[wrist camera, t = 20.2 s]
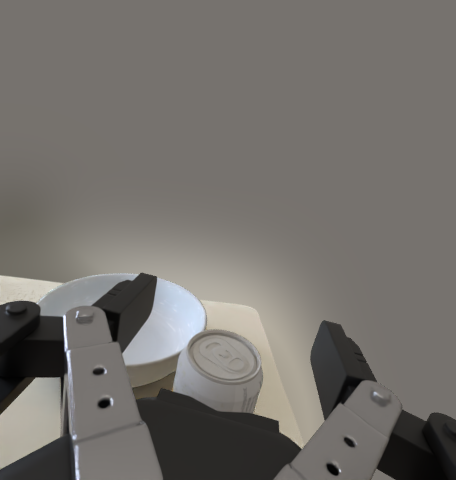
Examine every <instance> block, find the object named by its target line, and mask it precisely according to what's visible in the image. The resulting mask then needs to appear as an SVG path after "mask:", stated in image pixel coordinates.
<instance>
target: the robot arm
mask: <svg viewBox="0 0 456 480" xmlns="http://www.w3.org/2000/svg"><path fill="white" fill-rule="evenodd" d="M156 285H157V277H156V276H153V275H149V274H144V273H140V274H139V275H138V276H137V277H136V278H135V279H134V280H133V281H131V280H125V281H122V282H119V283H118V284H116V285H115V286H114V287H113V288H112V289H110V290H109V291H108V292H107V294H104V295H103V296H102V297H101V298H100V299H98V300H97V301H96V302H95V303H94V304H92V305H91V306H79V307H75V308H72V309H70V310H68V311H67V312H66V313H65V314H64V316H42V315H40V313H41V308H40V306H39V305H38V304H36V303H34V302H30V301H14V302H9V303H6V304H3V305H0V415H1V414H2V413H3V411H4V410H5V409H6V408H7V407H8V406H9V405H10V404H11V403H12V402H13V401H14V400H15V399H16V398H17V397H18V396H19V395H20V394H21V393H22V392H23V391H24V389H25V388H26V387H27V386H28V385H29V384H30V383H31V382H32V381H33V380H34V379H35V378H36V377H60V413H61V433H60V438H58V439H56V440H55V441H53V442H51V443H49V444H47V445H45V446H43V447H42V448H40V449H38V450H36V451H34V452H32V453H30V454H28V455H27V456H25V457H23V458H21V459H19V460H17V461H15V462H14V463H12V464H10V465H8V466H6V467H4V468H2V469H0V480H371V479H372V476H373V474H374V472H375V470H376V469H378V470H380V471H382V472H383V473H385V474H387V475H388V476H390V477H392V478H394V479H395V480H456V420H455V419H453V418H451V417H449V416H447V415H444V414H441V413H432V414H430V416H429V418H428V419H427V421H424V420H422V419H420V418H418V417H416V416H414V415H412V414H410V413H408V412H406V411H404V410H402V404H401V402H400V400H399V399H398V397H397V396H396V395H395V394H394V393H393V392H392V391H391V390H389V389H388V388H386V387H385V386H383V385H381V384H379V383H377V381H376V379H375V377H374V375H373V373H372V371H371V369H370V367H369V365H368V364H367V363H366V360H365V358H364V356H363V354H362V352H361V350H360V348H359V346H358V345H357V344H355V342H354V341H352V339H351V338H348V337H346V335H345V333H344V330H343V329H342V326H341V325H340V324H336V323H332V322H329V321H325V320H324V321H322V323H321V325H320V327H319V331H318V333H317V336H316V338H315V342H314V344H313V347H312V350H311V359H310V360H311V365H312V370H313V374H314V378H315V382H316V386H317V390H318V395H319V398H320V403H321V407H322V411H323V415H324V420H325V422H324V423H323V424H322V425H321V427H320V428H319V429H318V430H317V431H316V433H315V434H314V435H313V436H312V438H311V439H310V440H309V442H308V443H307V444H306V445H305V446H304V447H303V449H301V448H300V447H299V446H298V445H297V444H295V443H294V442H293V441H292V440H291V439H289V438H288V437H286V436H285V435H283V434H281V433H280V432H279V421H277V420H273V419H270V418H266V417H262V416H259V415H255V414H252V413H244V412H222V411H217V410H215V409H213V408H211V407H209V406H207V405H205V404H203V403H202V402H200V401H198V400H196V399H194V398H192V397H190V396H188V395H184V394H181V393H177V392H173V391H170V390H166V389H163V388H161V389H160V392H159V394H158V396H157V398H156V397H151V398H141V399H137V400H135V397H134V393H133V390H132V386H131V383H130V379H129V376H128V373H127V369H126V366H125V362H124V359H123V355H122V353H123V352H124V351H125V349H126V348H127V347H128V345H129V344H130V343H131V341H132V340H133V338H134V337H135V336H136V334H137V333H138V332H139V330H140V329H141V328H142V326H143V325H144V323H145V322H146V321H147V319H148V318H149V316H150V314H151V311H152V308H153V303H154V297H155V291H156Z"/></svg>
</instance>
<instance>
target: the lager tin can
mask: <svg viewBox="0 0 456 480" xmlns="http://www.w3.org/2000/svg"><path fill="white" fill-rule="evenodd" d="M262 382H263V372H262V368H261V357H260V354H259V352H258V350H257V349H256V348H255V346H254V345H253V344H252V343H251V342H249V341H248V340H247V339H245V338H244V337H242V336H240V335H238V334H236V333H233V332H230V331H225V330H217V329H213V330H205V331H202V332H199V333H197V334H195V335H194V336H193V337H192V338H191V339H190V340H189V342H188V345H187V346H186V347H185V348H184V349H183V350H182V352H181V354H180V356H179V359H178V364H177V369H176V374H175V379H174V384H173V389H172V391H173V392H177V393H181V394H184V395H188V396H190V397H192V398H194V399H196V400H198V401H200V402H202V403H203V404H205V405H207V406H209V407H211V408H213V409H215V410H217V411H222V412H244V413H252V414H253V412H254V408H255V405H256V402H257V399H258V395H259V392H260V389H261V386H262Z"/></svg>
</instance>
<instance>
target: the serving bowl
mask: <svg viewBox="0 0 456 480" xmlns="http://www.w3.org/2000/svg"><path fill="white" fill-rule="evenodd" d="M138 275H139V274H125V273H121V274H120V273H119V274H118V273H117V274H101V275H94V276H88V277H84V278H80V279H76V280H73V281H70V282H67V283H65V284H62V285H60V286H58V287H56V288H54V289H53V290H51V291H50V292H48V293H47V294H46V295H44V296H43V297H42V298H41V299H40V300H39V301H38V302H37V304H38V305H39V306H40V308H41V313H40V315H42V316H64V314H65V313H66V312H67V311H68V310H70V309H72V308H75V307H79V306H91V305H92V304H94V303H95V302H96V301H97V300H98V299H100V298H101V297H102V296H103V295H104V294H107V292H108V291H109V290H110V289H112V288H113V287H114V286H115V285H116V284H118V283H119V282H122V281H125V280H131V281H133V280H134V279H135V278H136V277H137V276H138ZM206 325H207V315H206V311H205V308H204V306H203V305H202V303H201V302H200V301H199V299H198V298H196V296H195V295H193V294H192V293H191V292H190V291H188V290H186V289H185V288H183V287H181V286H179V285H177V284H175V283H173V282H170V281H167V280H163V279H161V278H157V285H156V291H155V297H154V303H153V308H152V311H151V314H150V316H149V318H148V319H147V321H146V322H145V323H144V325H143V326H142V328H141V329H140V330H139V332H138V333H137V334H136V336H135V337H134V338H133V340H132V341H131V343H130V344H129V345H128V347H127V348H126V349H125V351H124V352H123V353H122V355H123V359H124V362H125V366H126V369H127V373H128V376H129V379H130V383H131V386H132V388H133V387H138V386H142V385H146V384H149V383H152V382H155V381H157V380H159V379H162V378H164V377H166V376H167V375H169V374H171V373H172V372H174V371H175V370H176V369H177V364H178V359H179V356H180V354H181V352H182V350H183V349H184V348H185V347H186V346H187V345H188V342H189V340H190V339H191V338H192V337H193V336H194V335H195V334H197V333H199V332H202V331H205V329H206Z"/></svg>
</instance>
